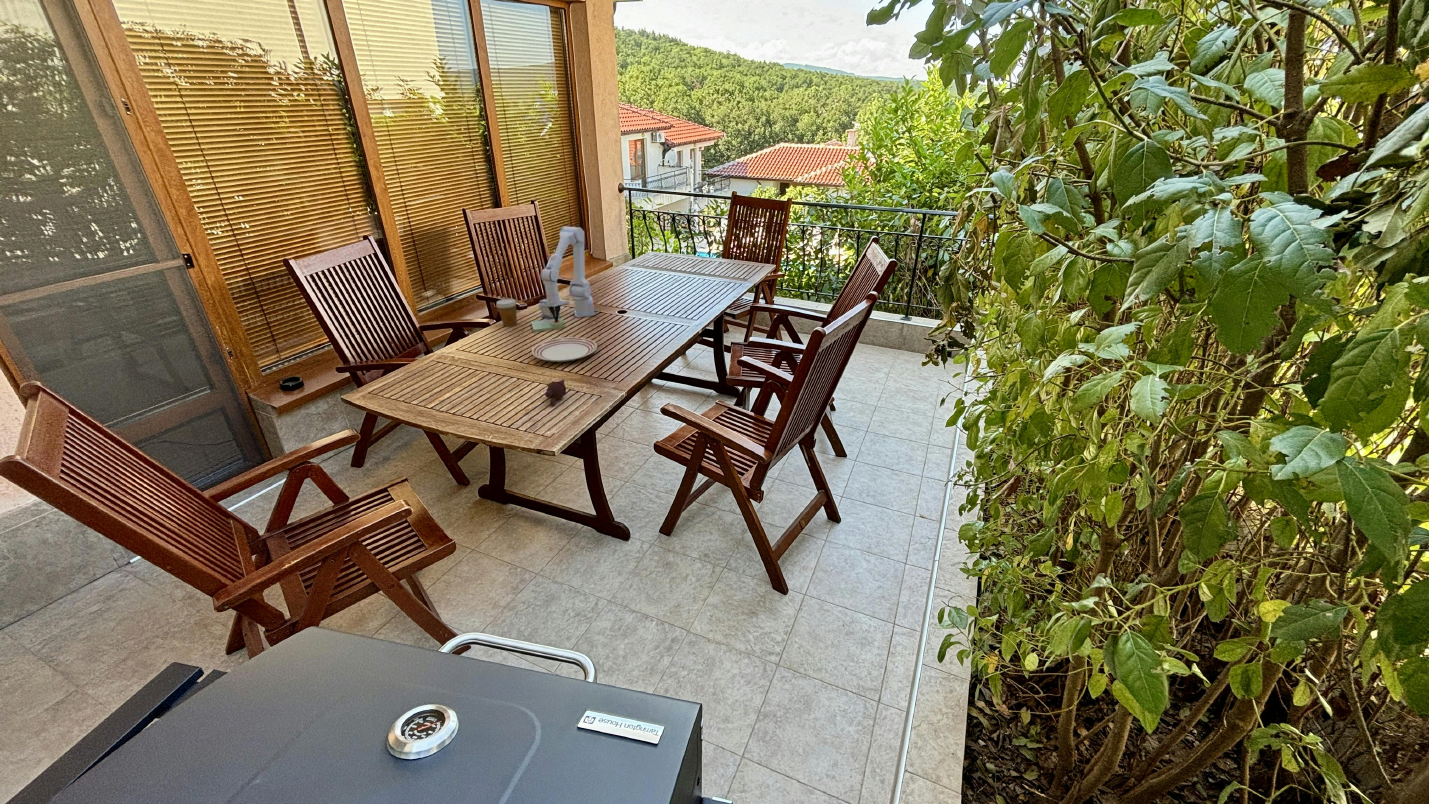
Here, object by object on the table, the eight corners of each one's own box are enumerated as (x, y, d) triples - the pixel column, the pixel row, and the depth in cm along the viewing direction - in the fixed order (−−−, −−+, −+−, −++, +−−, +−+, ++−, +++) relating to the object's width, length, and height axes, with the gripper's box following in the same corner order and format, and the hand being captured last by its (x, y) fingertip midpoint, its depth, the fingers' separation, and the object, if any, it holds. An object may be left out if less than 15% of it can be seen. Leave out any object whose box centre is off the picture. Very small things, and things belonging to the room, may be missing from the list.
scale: (561, 320, 299) (560, 314, 297) (564, 328, 288) (563, 322, 287) (531, 324, 295) (530, 318, 293) (533, 332, 284) (532, 326, 283)
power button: (560, 323, 291) (559, 319, 290) (560, 325, 288) (560, 321, 287) (553, 323, 290) (552, 320, 289) (554, 326, 287) (553, 322, 287)
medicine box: (541, 317, 304) (539, 301, 300) (547, 314, 307) (544, 298, 303) (554, 319, 301) (552, 302, 297) (559, 316, 305) (557, 300, 301)
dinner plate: (575, 338, 276) (574, 331, 275) (610, 353, 259) (609, 346, 257) (521, 355, 259) (519, 348, 258) (554, 372, 242) (553, 365, 240)
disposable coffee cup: (523, 321, 299) (519, 298, 293) (515, 328, 290) (511, 304, 285) (505, 321, 300) (500, 298, 294) (497, 327, 291) (492, 304, 286)
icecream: (551, 373, 225) (535, 394, 213) (568, 370, 223) (553, 390, 211) (558, 389, 229) (543, 410, 216) (575, 385, 227) (561, 407, 214)
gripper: (537, 298, 277) (541, 325, 283) (568, 294, 281) (572, 321, 287) (536, 294, 283) (540, 321, 289) (567, 290, 287) (570, 317, 293)
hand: (556, 321), depth 288 cm, fingers closed, pressing on power button
